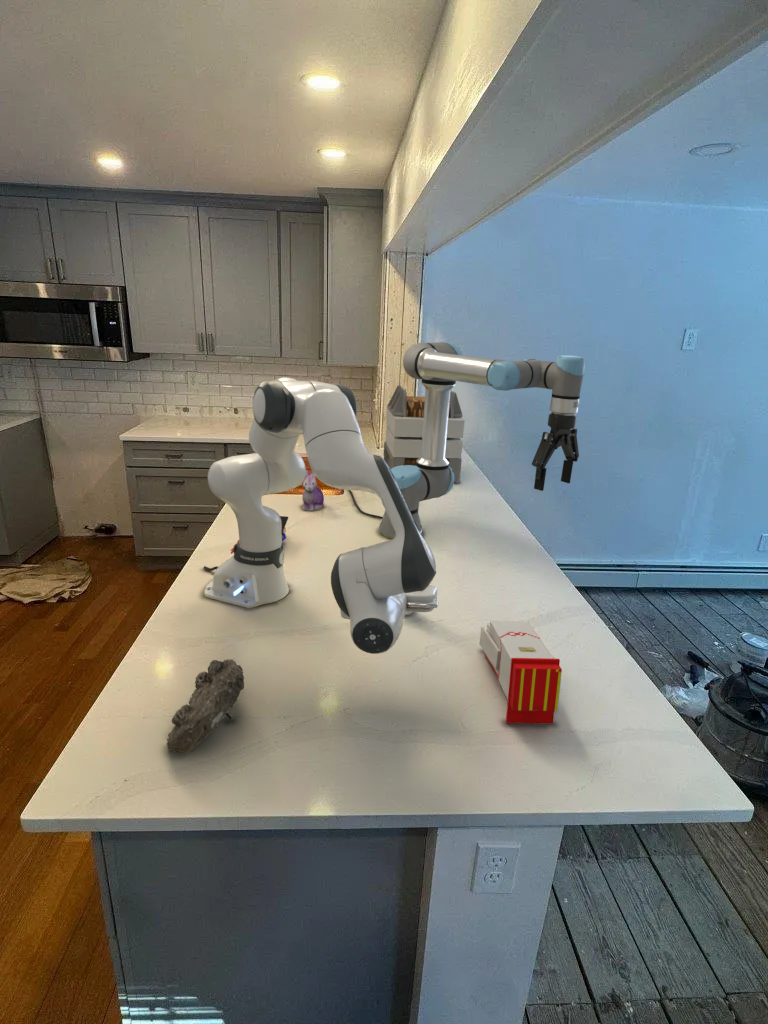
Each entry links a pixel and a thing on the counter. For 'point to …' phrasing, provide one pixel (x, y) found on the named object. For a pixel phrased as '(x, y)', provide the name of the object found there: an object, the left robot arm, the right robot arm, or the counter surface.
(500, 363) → the right robot arm
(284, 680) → the counter surface
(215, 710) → the fossil
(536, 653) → the toy
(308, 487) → the figurine
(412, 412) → the grey tall slatted box
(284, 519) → the figurine character
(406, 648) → the counter surface
